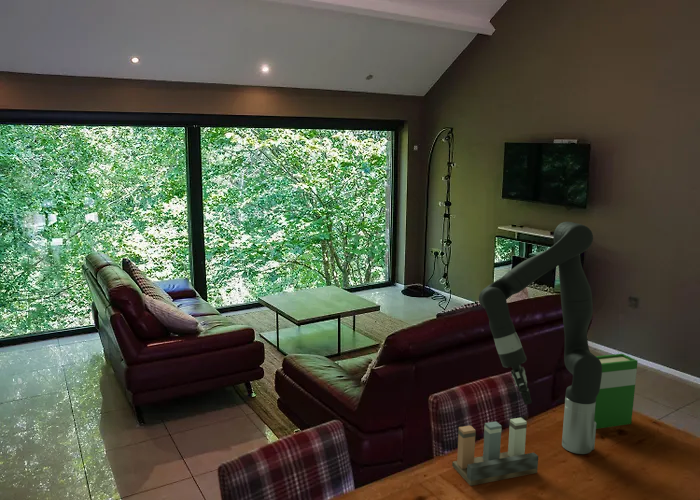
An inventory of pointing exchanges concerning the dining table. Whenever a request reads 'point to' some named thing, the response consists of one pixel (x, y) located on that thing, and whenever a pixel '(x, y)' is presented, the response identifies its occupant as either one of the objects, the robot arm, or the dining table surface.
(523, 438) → the white tall block
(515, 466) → the dark grey block stand
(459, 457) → the tan tall block
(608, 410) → the hardback book
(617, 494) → the dining table surface
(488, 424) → the slate key
